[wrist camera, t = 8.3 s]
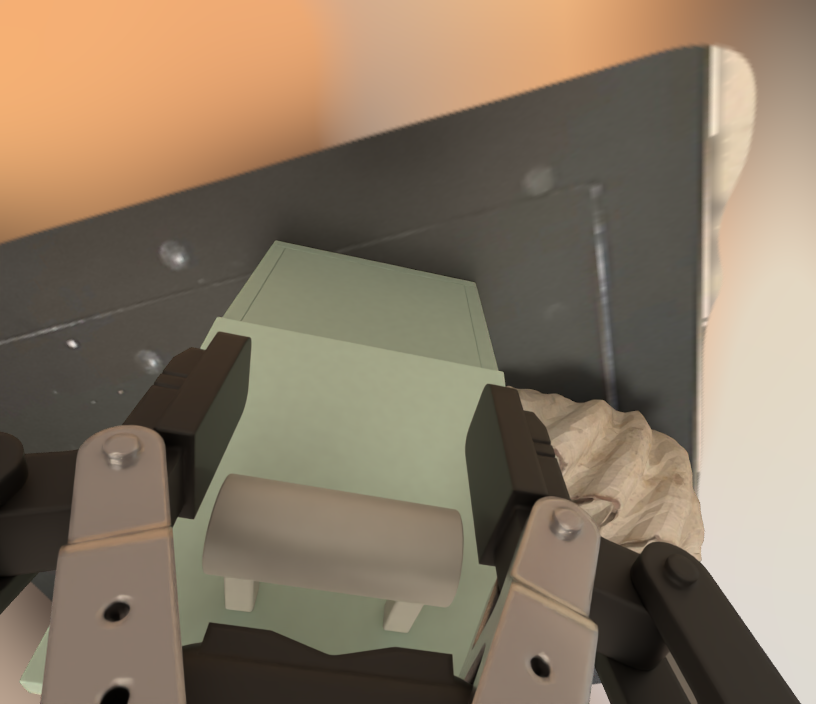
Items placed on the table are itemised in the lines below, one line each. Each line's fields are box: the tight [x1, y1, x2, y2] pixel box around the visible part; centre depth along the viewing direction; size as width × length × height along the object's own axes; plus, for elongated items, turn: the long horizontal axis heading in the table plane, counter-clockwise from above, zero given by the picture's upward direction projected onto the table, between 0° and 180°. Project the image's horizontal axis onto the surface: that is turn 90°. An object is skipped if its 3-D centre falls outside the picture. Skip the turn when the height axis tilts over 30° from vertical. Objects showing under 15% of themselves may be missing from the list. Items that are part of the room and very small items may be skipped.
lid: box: [20, 317, 506, 694], centre depth 15 cm, size 13×12×5 cm
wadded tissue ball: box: [506, 386, 704, 562], centre depth 33 cm, size 10×15×10 cm
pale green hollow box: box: [222, 240, 498, 371], centre depth 29 cm, size 12×12×10 cm
